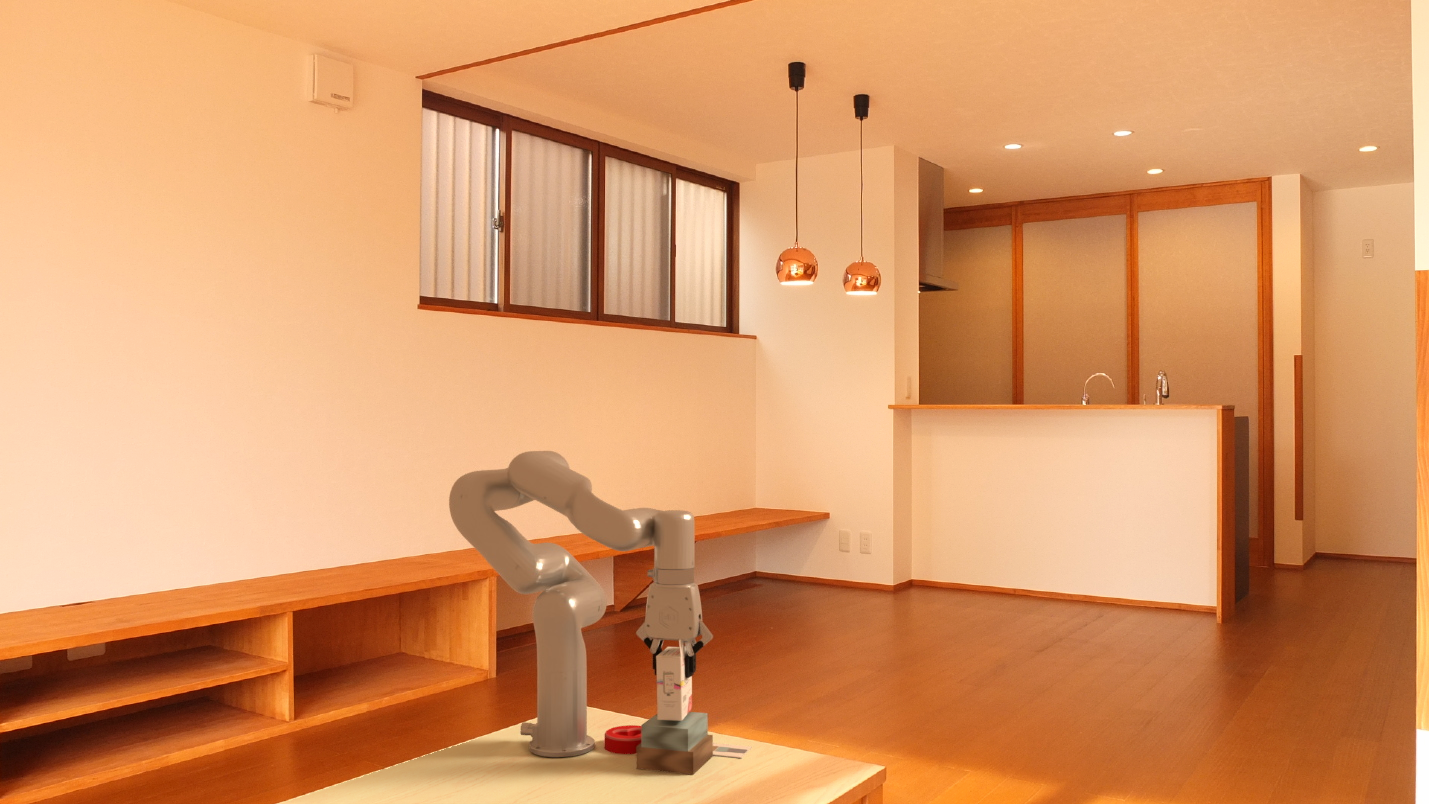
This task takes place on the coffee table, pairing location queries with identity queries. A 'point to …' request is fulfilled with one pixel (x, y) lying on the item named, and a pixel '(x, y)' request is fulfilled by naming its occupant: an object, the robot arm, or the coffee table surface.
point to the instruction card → (730, 750)
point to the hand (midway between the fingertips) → (674, 674)
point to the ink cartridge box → (673, 684)
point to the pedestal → (675, 744)
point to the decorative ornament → (623, 739)
